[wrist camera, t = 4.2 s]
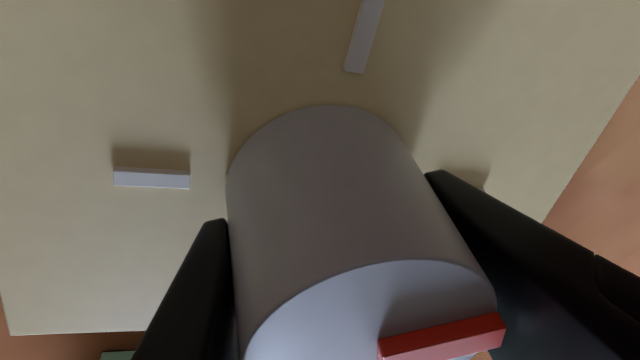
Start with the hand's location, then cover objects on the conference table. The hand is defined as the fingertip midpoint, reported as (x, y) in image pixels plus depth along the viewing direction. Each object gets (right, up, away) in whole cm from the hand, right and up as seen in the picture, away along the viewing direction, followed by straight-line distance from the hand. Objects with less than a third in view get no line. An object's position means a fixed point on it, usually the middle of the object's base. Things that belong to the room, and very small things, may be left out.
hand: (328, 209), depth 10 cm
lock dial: (0, +1, +1) cm, 1 cm away
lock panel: (-1, +2, +3) cm, 3 cm away
